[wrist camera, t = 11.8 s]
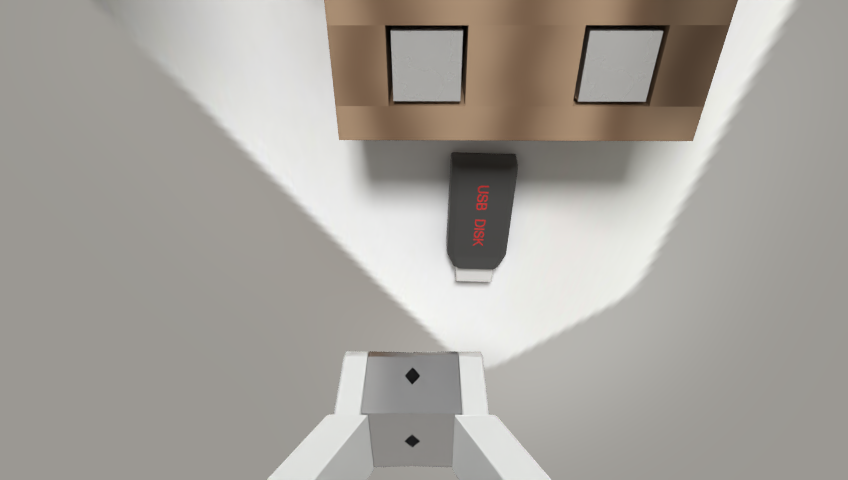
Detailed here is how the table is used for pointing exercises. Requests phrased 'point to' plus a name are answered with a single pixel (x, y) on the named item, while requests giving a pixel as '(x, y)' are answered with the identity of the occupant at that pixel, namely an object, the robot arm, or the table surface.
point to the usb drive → (479, 212)
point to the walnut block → (523, 69)
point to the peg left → (426, 62)
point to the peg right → (617, 62)
